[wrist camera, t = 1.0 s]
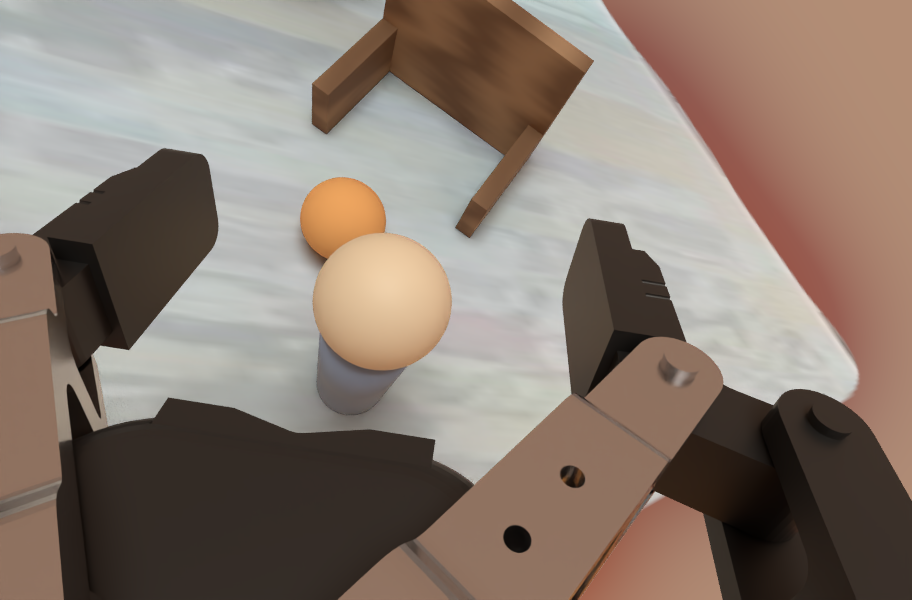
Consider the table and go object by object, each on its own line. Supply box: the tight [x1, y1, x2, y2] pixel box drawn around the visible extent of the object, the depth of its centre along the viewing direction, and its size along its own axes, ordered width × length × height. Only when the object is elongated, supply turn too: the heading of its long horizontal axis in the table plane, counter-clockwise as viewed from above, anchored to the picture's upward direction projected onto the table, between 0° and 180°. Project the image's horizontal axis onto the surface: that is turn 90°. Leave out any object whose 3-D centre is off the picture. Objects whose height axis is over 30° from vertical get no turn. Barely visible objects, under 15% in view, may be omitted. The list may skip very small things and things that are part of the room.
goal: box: [312, 0, 594, 238], centre depth 34 cm, size 13×9×10 cm, turn 57°
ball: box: [300, 177, 386, 259], centre depth 32 cm, size 5×5×5 cm
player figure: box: [313, 233, 452, 415], centre depth 24 cm, size 5×5×17 cm
